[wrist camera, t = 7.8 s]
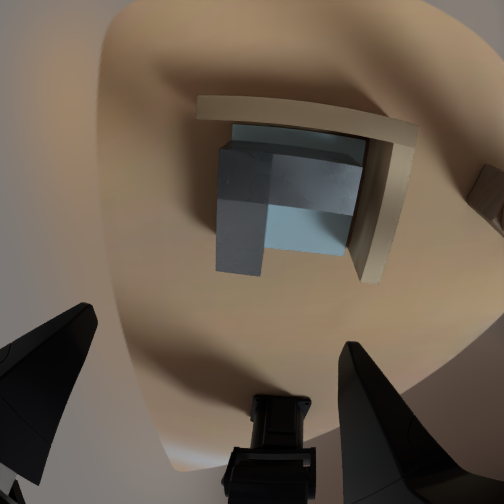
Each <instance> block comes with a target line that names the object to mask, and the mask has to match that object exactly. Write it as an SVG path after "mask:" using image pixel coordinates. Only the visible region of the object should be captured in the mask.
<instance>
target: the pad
mask: <svg viewBox="0 0 504 504" xmlns="http://www.w3.org/2000/svg"><path fill="white" fill-rule="evenodd" d="M232 140H240V141H252V142H263V143H272V144H281V145H289V146H297V147H305V148H312V149H318V150H325V151H331V152H337V153H342V154H348V155H349V156H350V157H351V158H353V159H354V160H355V161H356V162H357V163H358V164H359V165H361V166H362V163H363V157H364V151H365V144H366V140H361V139H356V138H351V137H345V136H339V135H333V134H327V133H320V132H313V131H306V130H298V129H289V128H279V127H269V126H256V125H241V124H233V126H232ZM351 220H352V216H351V215H345V214H338V213H331V212H324V211H317V210H310V209H302V208H294V207H286V206H278V205H270V204H269V211H268V220H267V229H266V238H265V247H266V248H275V249H284V250H293V251H303V252H312V253H321V254H329V255H338V256H343V254H344V250H345V246H346V242H347V238H348V233H349V229H350V225H351Z"/></svg>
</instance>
